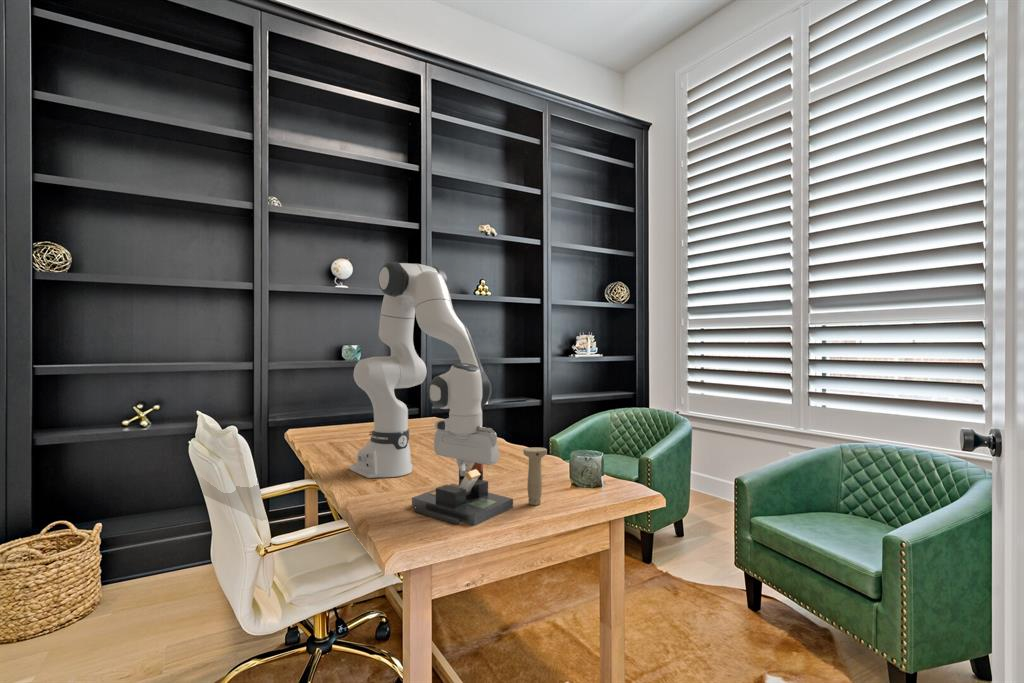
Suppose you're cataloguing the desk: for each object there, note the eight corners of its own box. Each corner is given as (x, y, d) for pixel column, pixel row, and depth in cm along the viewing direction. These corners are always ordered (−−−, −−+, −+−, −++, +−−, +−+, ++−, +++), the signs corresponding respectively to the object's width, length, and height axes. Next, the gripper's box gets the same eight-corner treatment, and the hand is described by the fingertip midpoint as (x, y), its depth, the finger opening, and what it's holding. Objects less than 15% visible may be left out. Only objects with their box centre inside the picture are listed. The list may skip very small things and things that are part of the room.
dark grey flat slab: (413, 512, 128) (413, 507, 128) (465, 492, 145) (465, 488, 145) (456, 525, 119) (456, 520, 119) (507, 502, 136) (507, 498, 136)
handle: (548, 506, 133) (548, 450, 133) (525, 507, 132) (525, 451, 132) (543, 500, 138) (543, 447, 138) (521, 501, 137) (521, 447, 137)
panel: (411, 506, 132) (411, 484, 132) (452, 491, 145) (452, 471, 145) (474, 525, 119) (474, 500, 119) (513, 507, 132) (513, 485, 132)
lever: (452, 494, 131) (465, 471, 128) (463, 490, 135) (476, 468, 132) (457, 500, 130) (471, 478, 127) (468, 496, 134) (482, 474, 131)
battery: (481, 490, 146) (481, 457, 146) (458, 490, 147) (458, 456, 147) (483, 486, 151) (483, 453, 150) (461, 485, 151) (461, 453, 151)
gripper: (503, 427, 127) (503, 480, 128) (446, 419, 140) (446, 467, 140) (488, 430, 122) (488, 486, 122) (430, 422, 134) (430, 472, 135)
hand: (465, 476), depth 131 cm, fingers closed
